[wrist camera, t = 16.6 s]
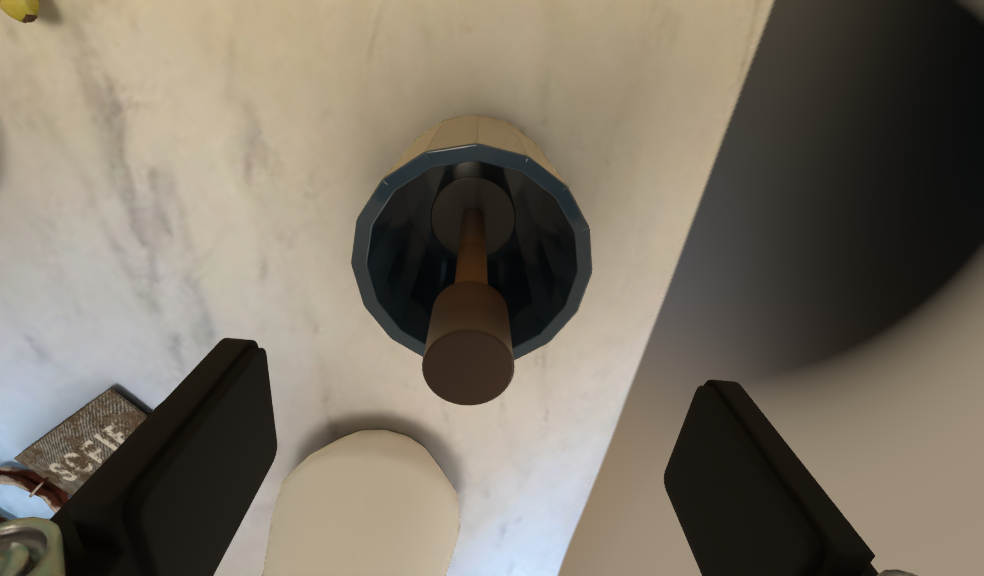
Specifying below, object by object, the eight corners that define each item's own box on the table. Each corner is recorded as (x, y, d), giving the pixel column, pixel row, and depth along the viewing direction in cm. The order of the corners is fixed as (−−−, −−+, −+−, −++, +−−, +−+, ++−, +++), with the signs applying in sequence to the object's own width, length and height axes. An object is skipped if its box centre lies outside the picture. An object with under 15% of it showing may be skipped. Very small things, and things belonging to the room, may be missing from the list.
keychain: (195, 443, 36) (180, 463, 34) (44, 540, 40) (23, 562, 38) (107, 375, 33) (86, 393, 31) (-46, 487, 37) (-73, 509, 35)
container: (582, 179, 28) (641, 243, 18) (491, 291, 31) (497, 399, 21) (455, 79, 25) (440, 87, 15) (369, 212, 28) (310, 292, 18)
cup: (294, 520, 40) (209, 731, 27) (295, 396, 34) (187, 590, 21) (450, 535, 41) (437, 743, 28) (475, 419, 35) (474, 614, 23)
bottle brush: (526, 191, 27) (587, 353, 12) (482, 248, 29) (486, 457, 13) (464, 145, 26) (445, 260, 11) (422, 207, 27) (351, 386, 12)
